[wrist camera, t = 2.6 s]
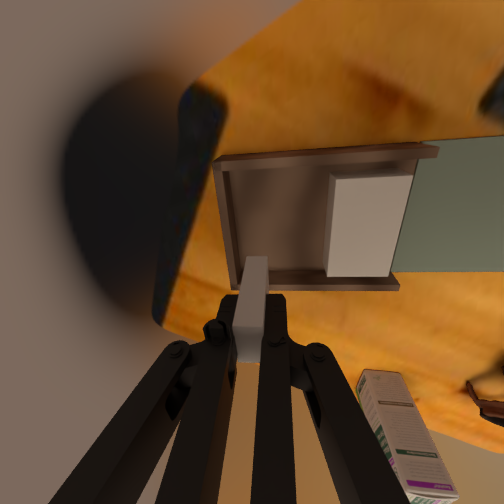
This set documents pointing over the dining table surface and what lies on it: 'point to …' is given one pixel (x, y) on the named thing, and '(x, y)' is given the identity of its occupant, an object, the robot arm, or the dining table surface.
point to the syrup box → (404, 438)
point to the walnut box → (296, 210)
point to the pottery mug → (489, 407)
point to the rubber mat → (455, 210)
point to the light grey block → (364, 221)
